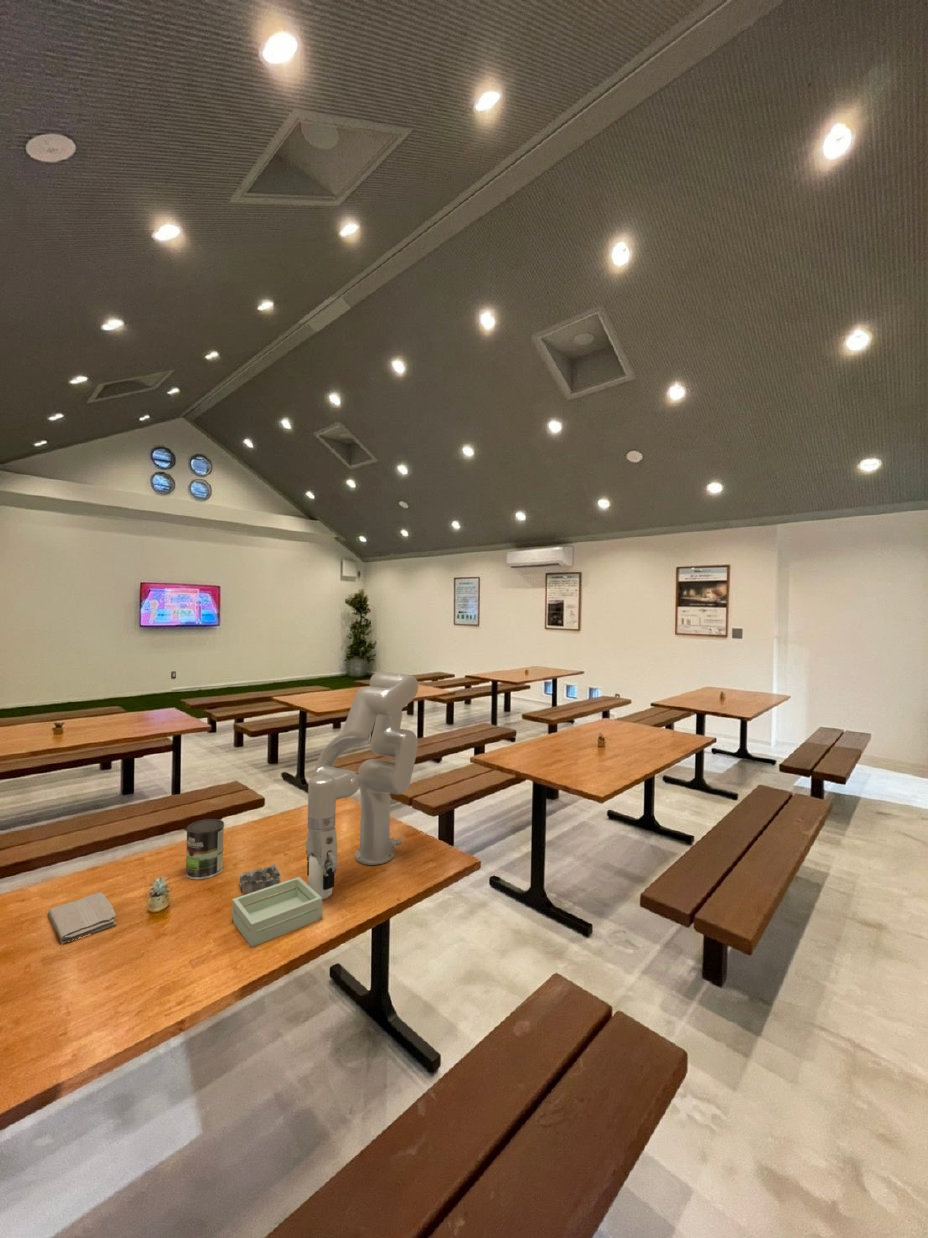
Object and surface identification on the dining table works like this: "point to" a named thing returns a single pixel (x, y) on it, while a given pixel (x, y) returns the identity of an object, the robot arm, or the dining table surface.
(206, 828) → the coffee can
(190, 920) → the dining table surface
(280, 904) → the tray
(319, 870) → the can
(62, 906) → the washcloth
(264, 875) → the egg carton
